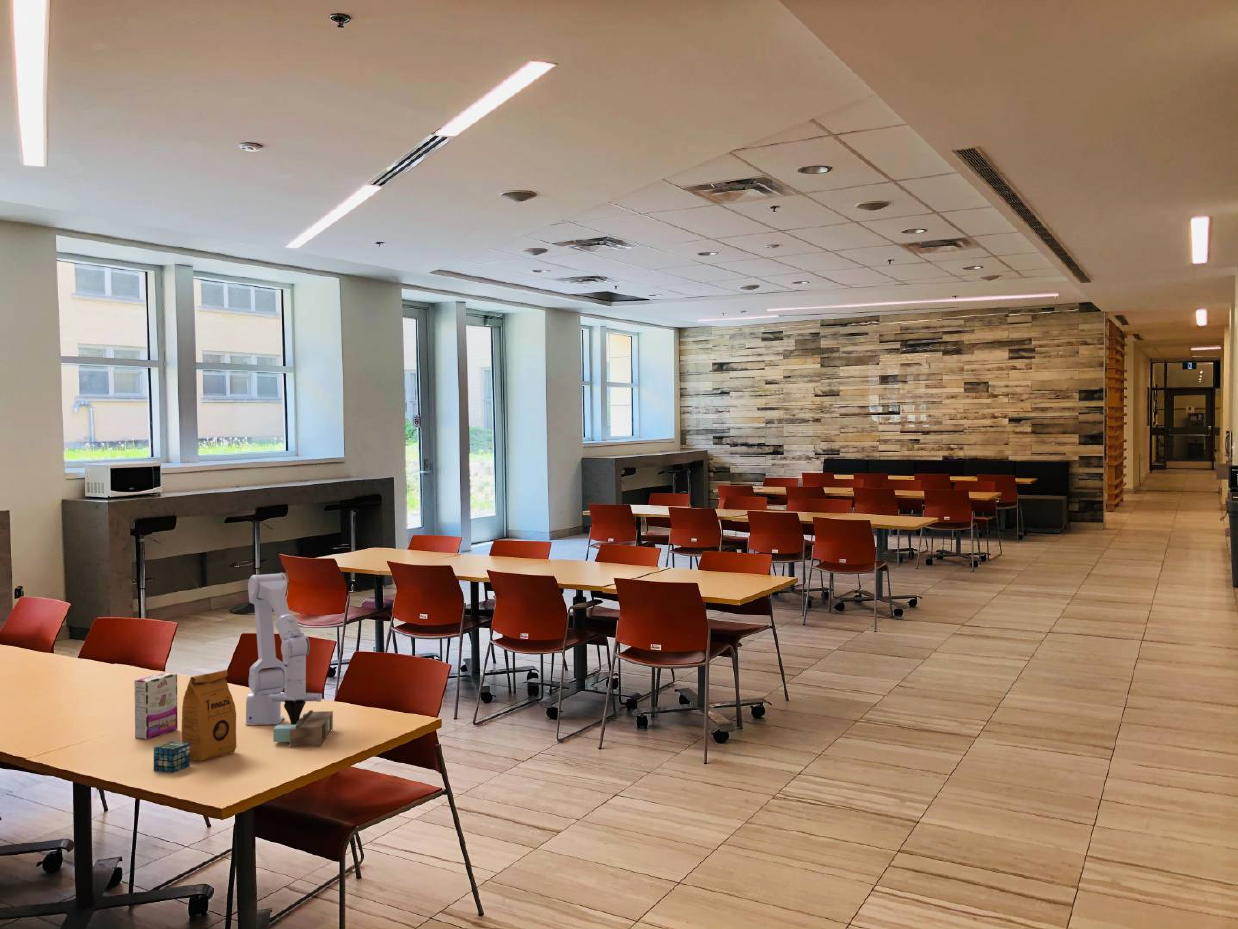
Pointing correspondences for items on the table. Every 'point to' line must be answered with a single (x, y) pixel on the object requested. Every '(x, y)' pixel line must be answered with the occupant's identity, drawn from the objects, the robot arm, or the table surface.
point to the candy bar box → (155, 705)
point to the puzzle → (171, 757)
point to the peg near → (282, 733)
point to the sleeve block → (311, 729)
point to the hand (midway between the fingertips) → (294, 727)
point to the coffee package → (209, 717)
